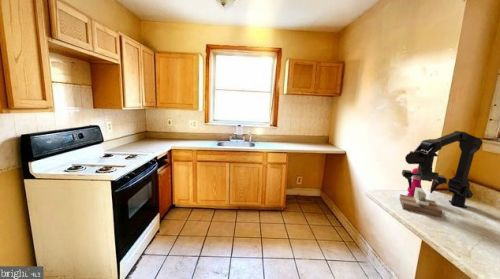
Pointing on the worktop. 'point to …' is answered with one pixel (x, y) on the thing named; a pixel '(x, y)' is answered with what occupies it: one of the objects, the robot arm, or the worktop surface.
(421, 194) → the light grey piece
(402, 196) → the brown open rectangular box
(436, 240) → the worktop surface
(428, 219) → the worktop surface
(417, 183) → the pepper mill
